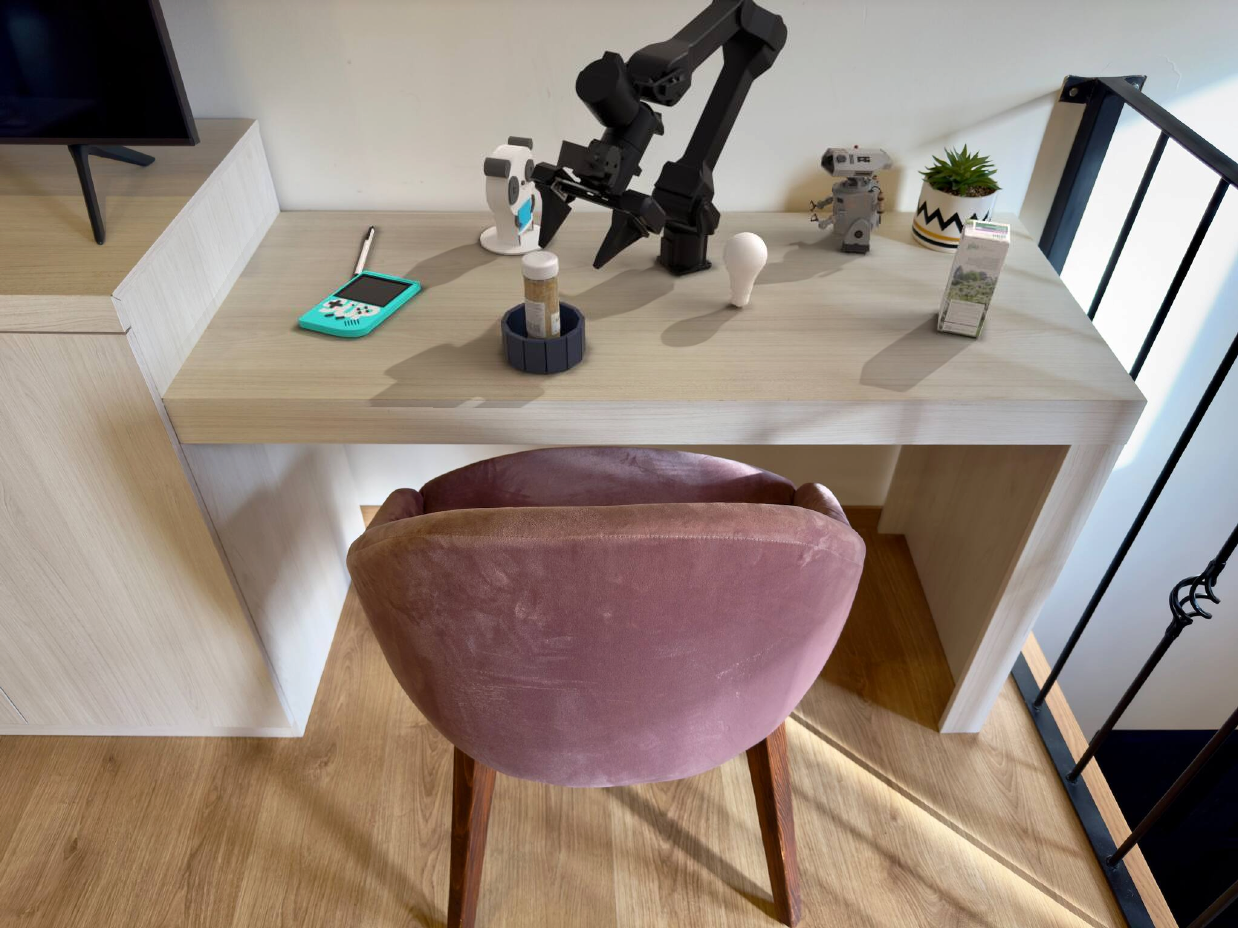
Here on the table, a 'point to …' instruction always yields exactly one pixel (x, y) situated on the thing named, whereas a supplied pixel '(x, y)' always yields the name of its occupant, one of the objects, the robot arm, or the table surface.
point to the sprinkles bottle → (541, 294)
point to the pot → (543, 342)
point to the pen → (364, 251)
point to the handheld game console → (360, 305)
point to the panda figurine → (511, 199)
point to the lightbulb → (743, 264)
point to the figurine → (854, 194)
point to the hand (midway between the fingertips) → (567, 257)
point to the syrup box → (973, 277)
